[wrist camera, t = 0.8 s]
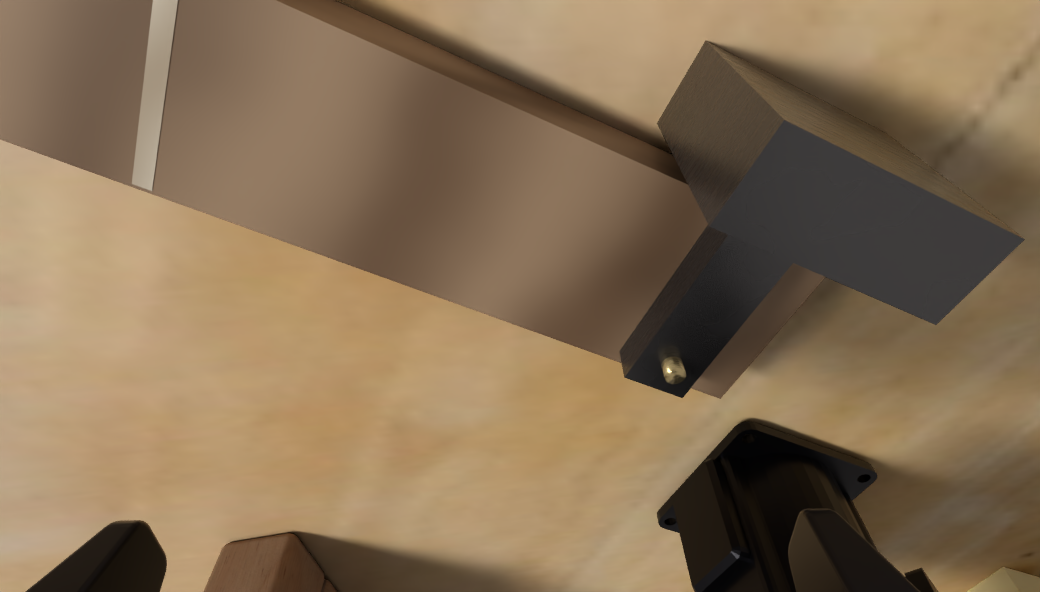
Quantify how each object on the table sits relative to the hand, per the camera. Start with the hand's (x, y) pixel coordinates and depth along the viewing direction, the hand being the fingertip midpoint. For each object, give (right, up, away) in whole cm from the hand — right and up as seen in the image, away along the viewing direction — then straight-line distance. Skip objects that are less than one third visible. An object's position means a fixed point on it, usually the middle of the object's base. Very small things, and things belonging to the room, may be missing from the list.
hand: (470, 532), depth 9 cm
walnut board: (-2, +7, +10) cm, 12 cm away
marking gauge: (+6, +6, +11) cm, 14 cm away
